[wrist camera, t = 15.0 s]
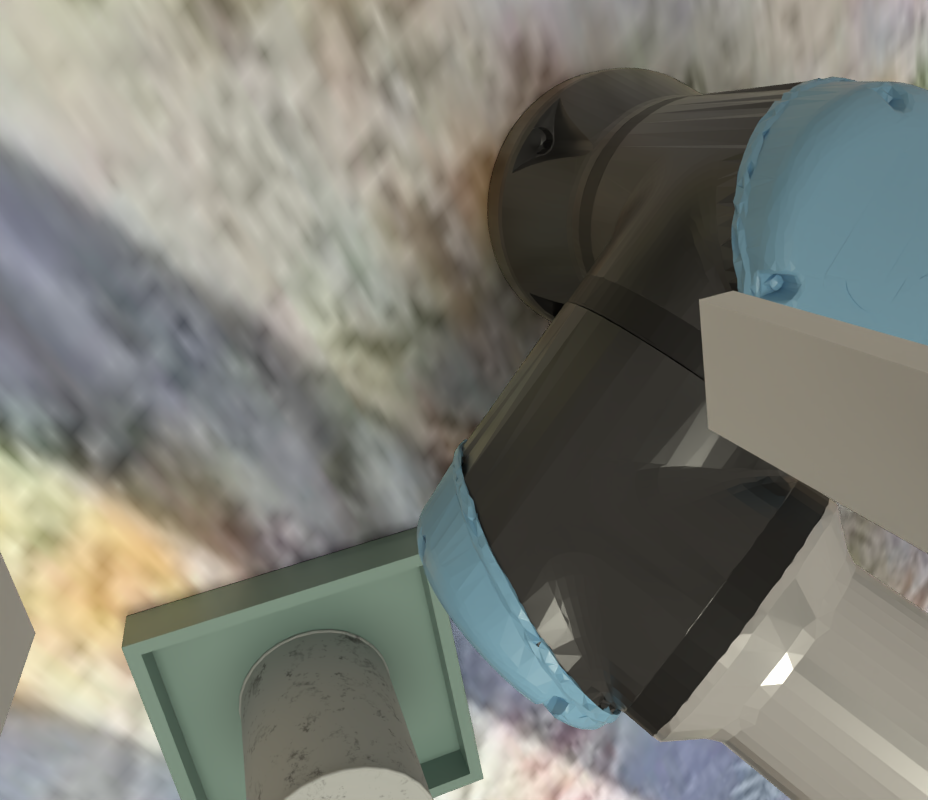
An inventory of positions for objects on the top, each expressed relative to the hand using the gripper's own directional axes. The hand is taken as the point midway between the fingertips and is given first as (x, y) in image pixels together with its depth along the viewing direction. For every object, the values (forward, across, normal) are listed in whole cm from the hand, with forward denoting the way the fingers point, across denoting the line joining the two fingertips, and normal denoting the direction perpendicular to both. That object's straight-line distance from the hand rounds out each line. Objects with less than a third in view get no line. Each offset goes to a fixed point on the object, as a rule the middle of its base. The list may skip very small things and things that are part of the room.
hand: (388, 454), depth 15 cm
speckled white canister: (+31, +4, +28) cm, 42 cm away
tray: (+32, +4, +28) cm, 42 cm away
